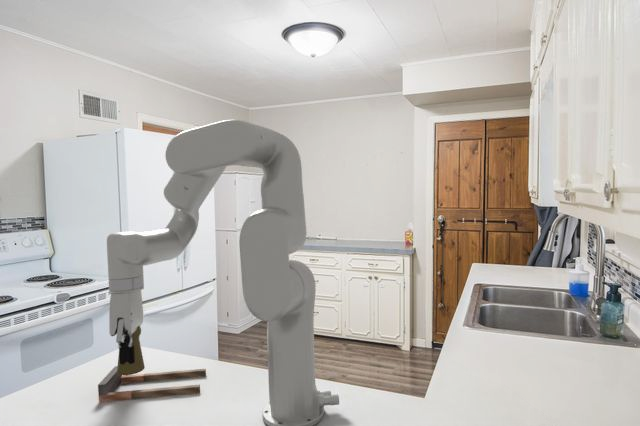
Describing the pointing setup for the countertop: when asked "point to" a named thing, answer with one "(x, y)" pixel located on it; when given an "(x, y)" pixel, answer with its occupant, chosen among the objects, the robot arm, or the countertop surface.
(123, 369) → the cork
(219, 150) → the robot arm
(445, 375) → the countertop surface
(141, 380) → the guide channel
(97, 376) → the countertop surface
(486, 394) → the countertop surface
